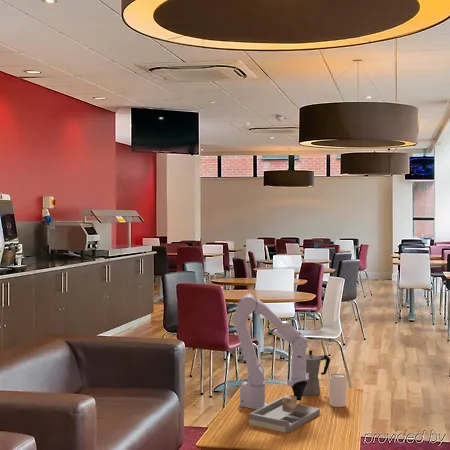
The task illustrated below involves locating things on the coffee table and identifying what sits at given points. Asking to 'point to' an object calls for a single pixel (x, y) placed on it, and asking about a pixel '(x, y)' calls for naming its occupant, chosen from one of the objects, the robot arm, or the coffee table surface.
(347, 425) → the coffee table surface
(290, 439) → the coffee table surface
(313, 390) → the coffeepot
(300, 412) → the box
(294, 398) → the block
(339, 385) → the can
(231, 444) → the coffee table surface
